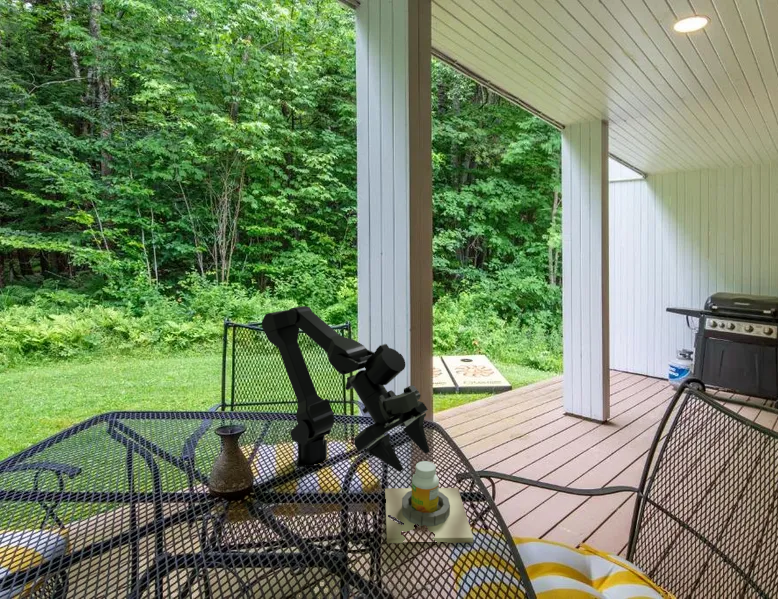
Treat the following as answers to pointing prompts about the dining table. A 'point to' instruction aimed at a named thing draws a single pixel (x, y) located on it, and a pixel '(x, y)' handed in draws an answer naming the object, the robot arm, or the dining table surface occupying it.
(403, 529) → the ring holder
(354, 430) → the dining table surface
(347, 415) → the dining table surface
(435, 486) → the supplement bottle
